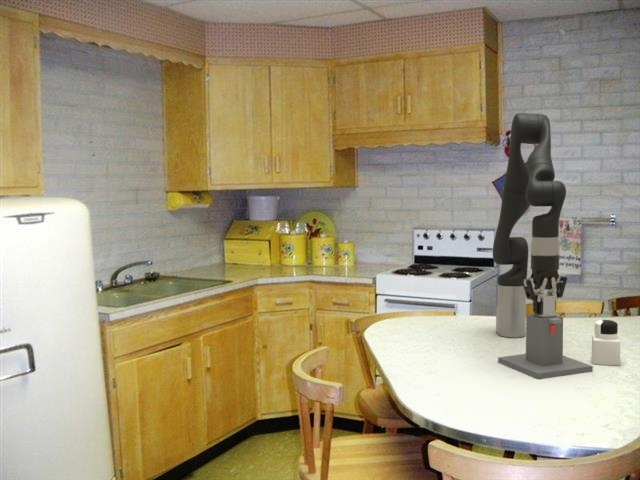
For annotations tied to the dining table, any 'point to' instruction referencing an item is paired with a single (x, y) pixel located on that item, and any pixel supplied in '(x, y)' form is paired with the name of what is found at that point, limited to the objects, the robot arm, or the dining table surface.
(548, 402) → the dining table surface
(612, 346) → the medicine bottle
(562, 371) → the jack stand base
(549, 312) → the steel column
